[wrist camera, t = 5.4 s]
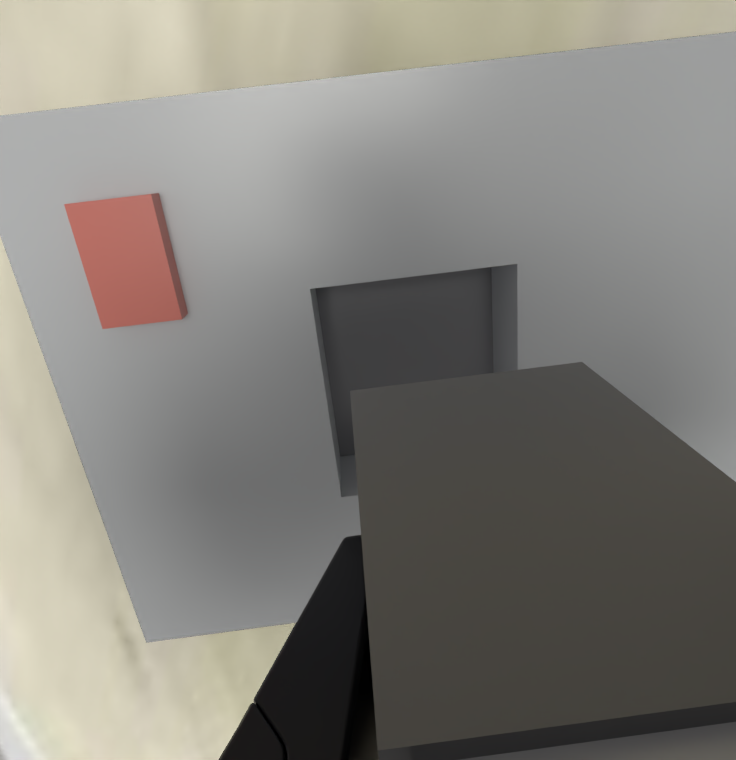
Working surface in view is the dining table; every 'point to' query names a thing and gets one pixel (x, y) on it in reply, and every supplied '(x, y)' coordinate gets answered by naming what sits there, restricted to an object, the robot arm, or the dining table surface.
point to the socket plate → (360, 285)
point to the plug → (543, 573)
